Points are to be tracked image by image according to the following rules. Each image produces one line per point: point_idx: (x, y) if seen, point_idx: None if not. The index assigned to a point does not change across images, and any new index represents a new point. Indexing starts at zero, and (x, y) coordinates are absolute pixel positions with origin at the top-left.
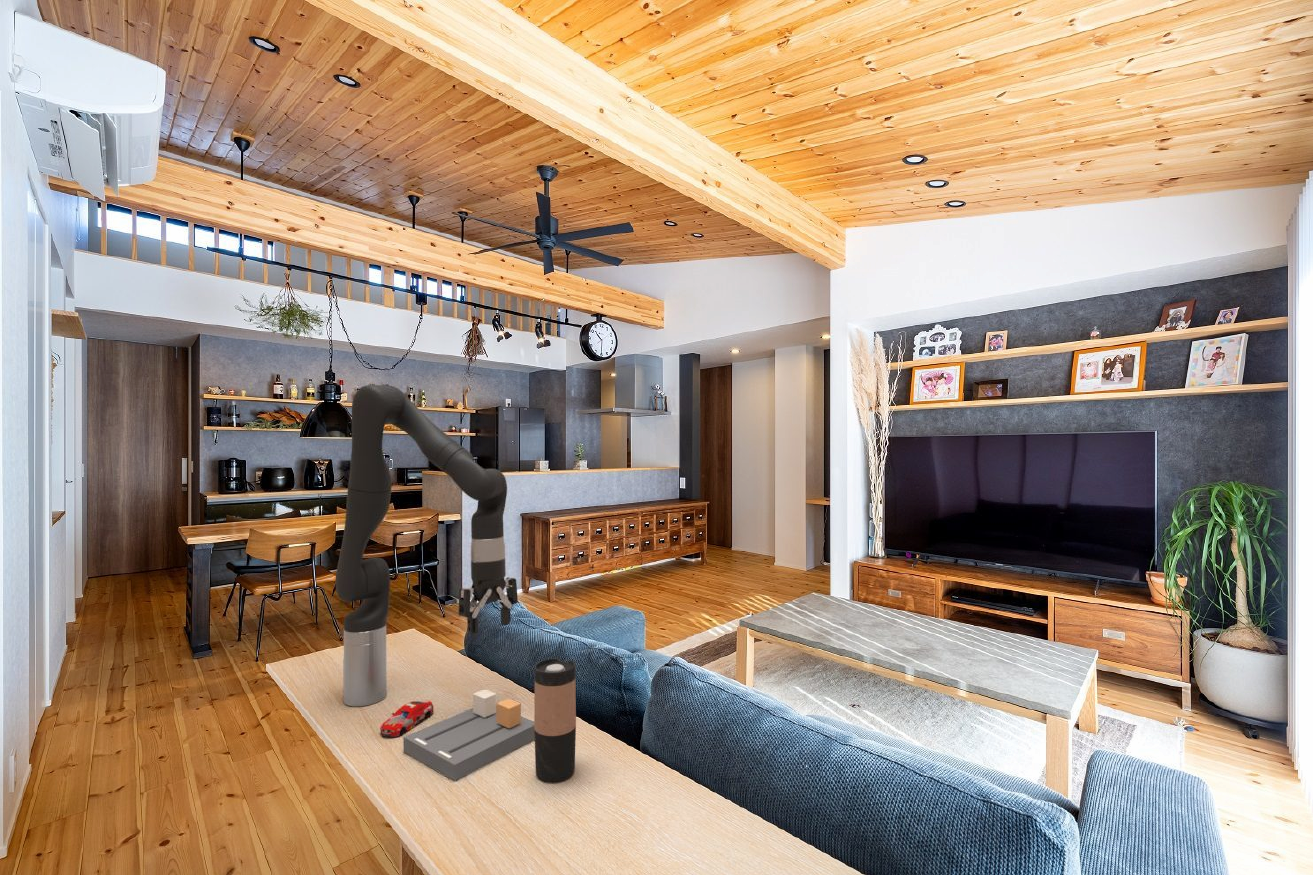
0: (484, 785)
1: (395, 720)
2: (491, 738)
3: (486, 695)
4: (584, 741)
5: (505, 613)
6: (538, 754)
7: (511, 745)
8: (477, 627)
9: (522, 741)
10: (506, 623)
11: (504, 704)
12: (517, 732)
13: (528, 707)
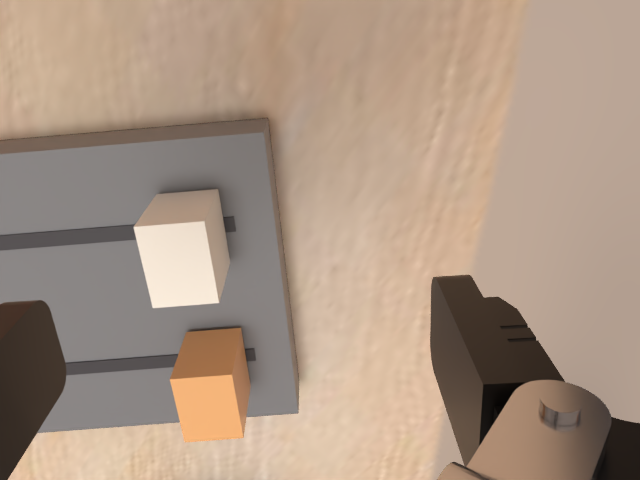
0: (53, 461)
1: None
2: (124, 391)
3: (176, 285)
4: (376, 473)
5: (461, 433)
6: None
7: None
8: (34, 431)
9: None
10: (434, 366)
11: (190, 403)
12: None
13: (428, 184)
